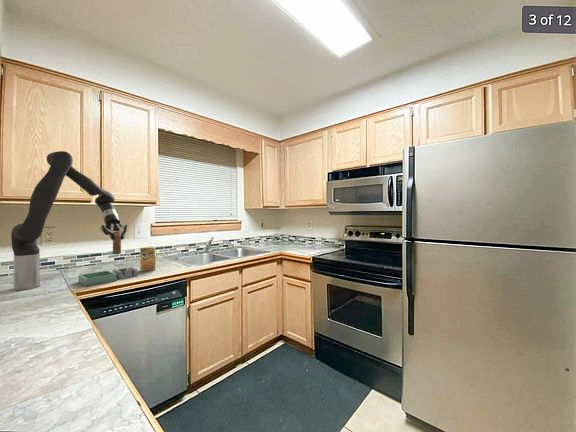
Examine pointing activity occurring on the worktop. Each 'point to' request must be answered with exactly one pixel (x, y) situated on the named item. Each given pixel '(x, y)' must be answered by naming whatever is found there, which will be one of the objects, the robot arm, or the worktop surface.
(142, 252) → the candy box
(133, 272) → the socket block
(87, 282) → the tray
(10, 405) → the worktop surface
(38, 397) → the worktop surface
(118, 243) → the wooden pin
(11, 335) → the worktop surface
